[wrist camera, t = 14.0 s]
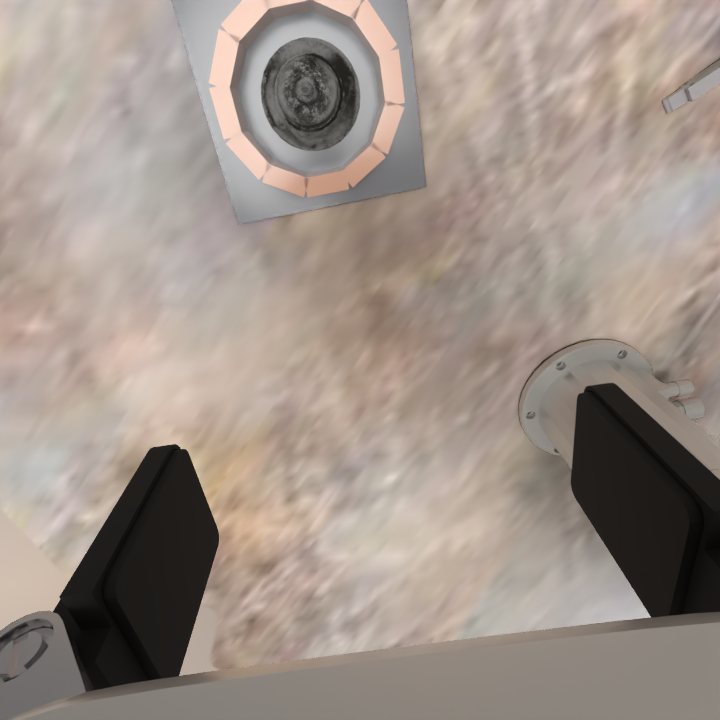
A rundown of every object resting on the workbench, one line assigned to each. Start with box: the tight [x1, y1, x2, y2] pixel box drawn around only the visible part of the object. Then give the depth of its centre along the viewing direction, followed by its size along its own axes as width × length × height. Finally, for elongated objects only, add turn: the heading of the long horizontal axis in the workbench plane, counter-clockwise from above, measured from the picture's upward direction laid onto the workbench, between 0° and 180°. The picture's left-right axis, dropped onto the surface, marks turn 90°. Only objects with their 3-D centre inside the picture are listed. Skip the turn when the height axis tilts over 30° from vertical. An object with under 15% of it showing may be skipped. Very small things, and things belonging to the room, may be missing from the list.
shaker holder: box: [171, 0, 426, 224], centre depth 30 cm, size 14×14×4 cm
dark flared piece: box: [261, 37, 360, 151], centre depth 25 cm, size 6×6×12 cm
